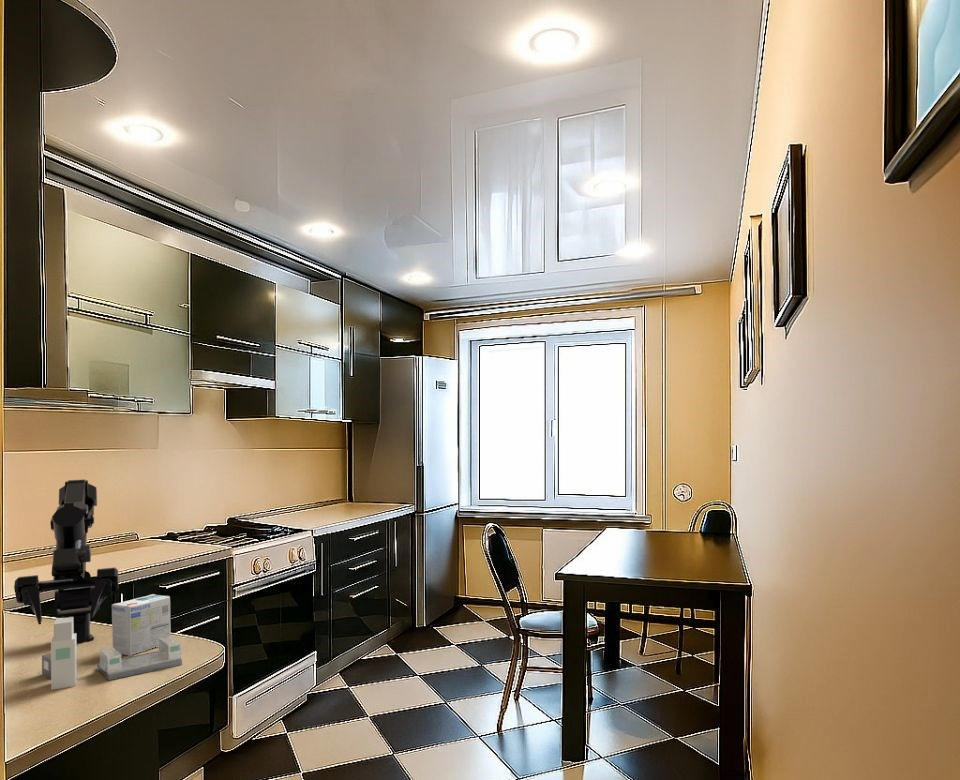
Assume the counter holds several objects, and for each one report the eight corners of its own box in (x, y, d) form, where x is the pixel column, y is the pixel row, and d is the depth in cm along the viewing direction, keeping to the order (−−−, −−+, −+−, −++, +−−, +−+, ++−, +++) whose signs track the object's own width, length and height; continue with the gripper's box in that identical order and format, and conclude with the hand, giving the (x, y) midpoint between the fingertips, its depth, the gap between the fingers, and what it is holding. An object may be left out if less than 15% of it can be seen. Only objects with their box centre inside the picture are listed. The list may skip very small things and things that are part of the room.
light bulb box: (153, 639, 174) (153, 593, 175) (172, 643, 171) (171, 595, 171) (110, 652, 165) (110, 603, 165) (129, 656, 162) (128, 606, 162)
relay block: (41, 675, 151) (41, 655, 151) (63, 669, 154) (63, 650, 155) (50, 680, 148) (50, 659, 148) (72, 674, 151) (72, 654, 151)
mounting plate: (97, 668, 154) (96, 646, 154) (167, 653, 163) (167, 633, 163) (108, 680, 146) (108, 658, 146) (182, 664, 155) (181, 643, 155)
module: (53, 682, 146) (53, 619, 147) (76, 679, 148) (76, 616, 148) (51, 690, 142) (50, 624, 142) (75, 686, 144) (74, 621, 144)
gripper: (15, 537, 151) (6, 603, 141) (117, 529, 159) (116, 591, 149) (21, 570, 158) (13, 635, 148) (118, 560, 166) (118, 622, 155)
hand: (65, 620), depth 150 cm, fingers open, 9 cm apart
